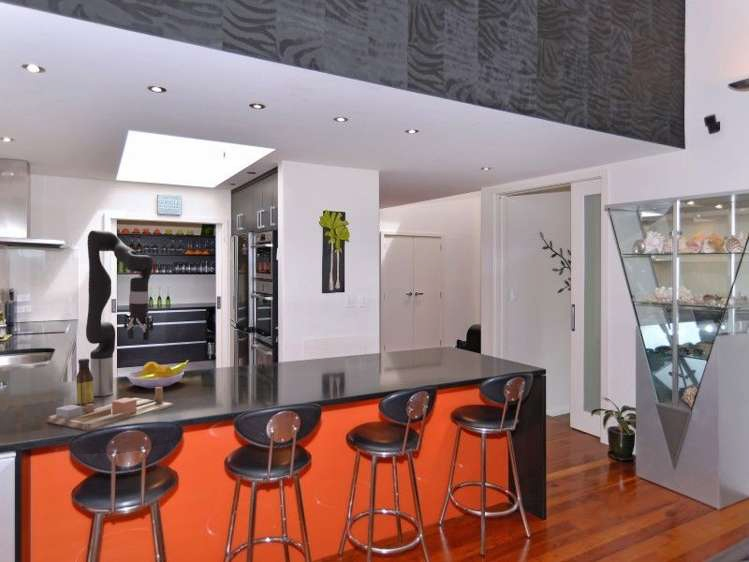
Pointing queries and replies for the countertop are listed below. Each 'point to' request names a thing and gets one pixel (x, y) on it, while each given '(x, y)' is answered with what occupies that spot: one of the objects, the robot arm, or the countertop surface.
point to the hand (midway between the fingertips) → (138, 339)
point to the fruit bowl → (157, 375)
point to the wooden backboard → (105, 415)
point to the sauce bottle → (84, 383)
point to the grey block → (73, 411)
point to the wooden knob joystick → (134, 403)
